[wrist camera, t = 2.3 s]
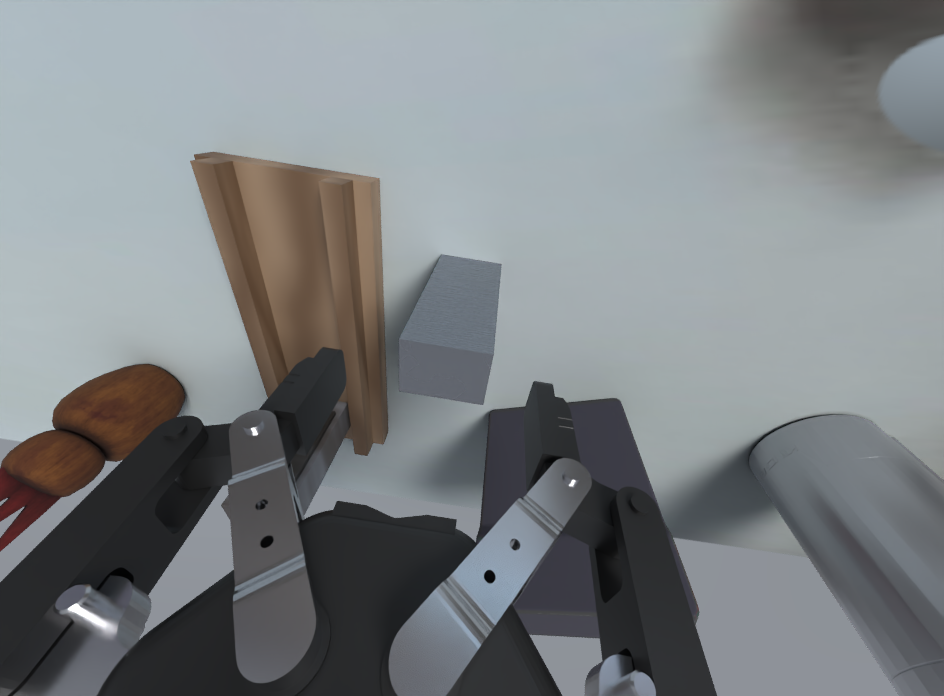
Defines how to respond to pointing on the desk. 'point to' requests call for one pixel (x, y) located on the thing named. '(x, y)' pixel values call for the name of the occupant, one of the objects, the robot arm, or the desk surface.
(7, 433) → the desk surface
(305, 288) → the rail
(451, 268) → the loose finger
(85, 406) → the wooden figurine
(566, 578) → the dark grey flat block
